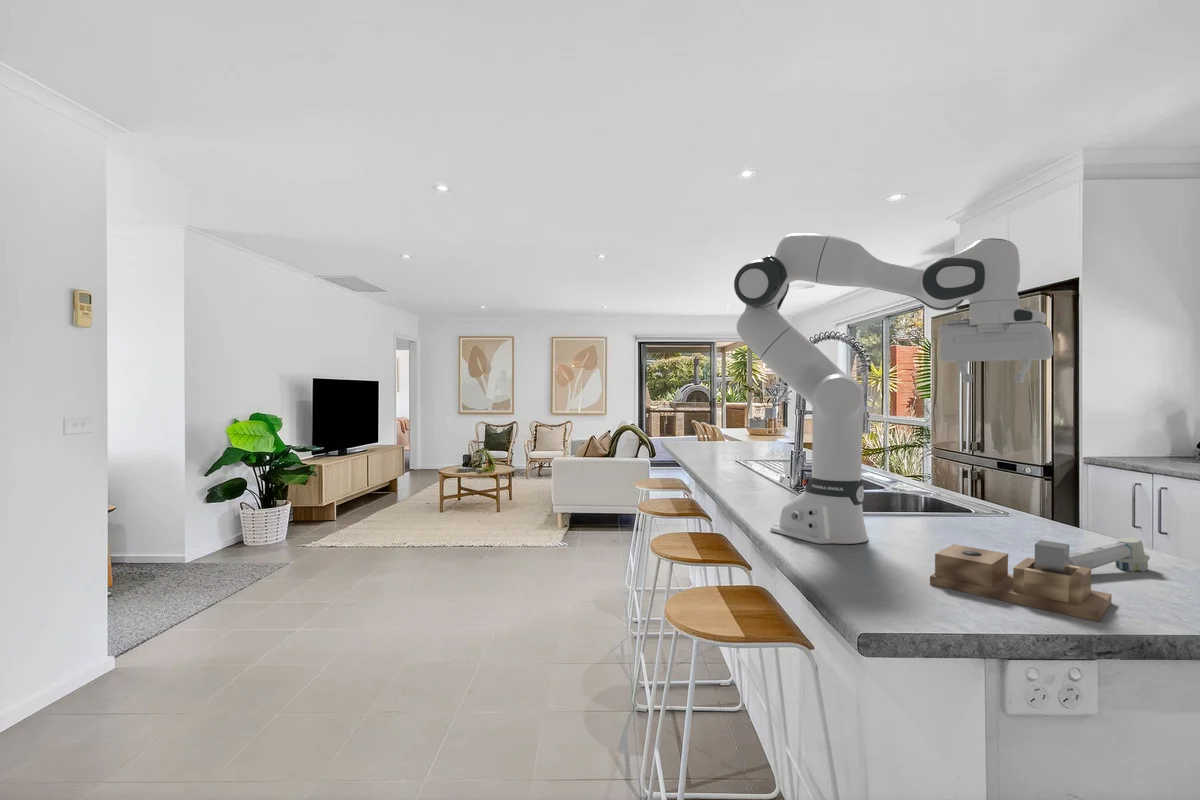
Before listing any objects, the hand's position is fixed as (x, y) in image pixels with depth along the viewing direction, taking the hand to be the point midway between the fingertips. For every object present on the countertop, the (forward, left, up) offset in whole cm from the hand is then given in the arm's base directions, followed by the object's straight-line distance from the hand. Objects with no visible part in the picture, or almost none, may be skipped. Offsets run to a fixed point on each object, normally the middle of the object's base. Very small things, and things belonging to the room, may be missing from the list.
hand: (992, 382), depth 128 cm
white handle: (+17, +3, -38) cm, 41 cm away
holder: (+10, -23, -37) cm, 44 cm away
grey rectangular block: (+15, -23, -35) cm, 45 cm away
